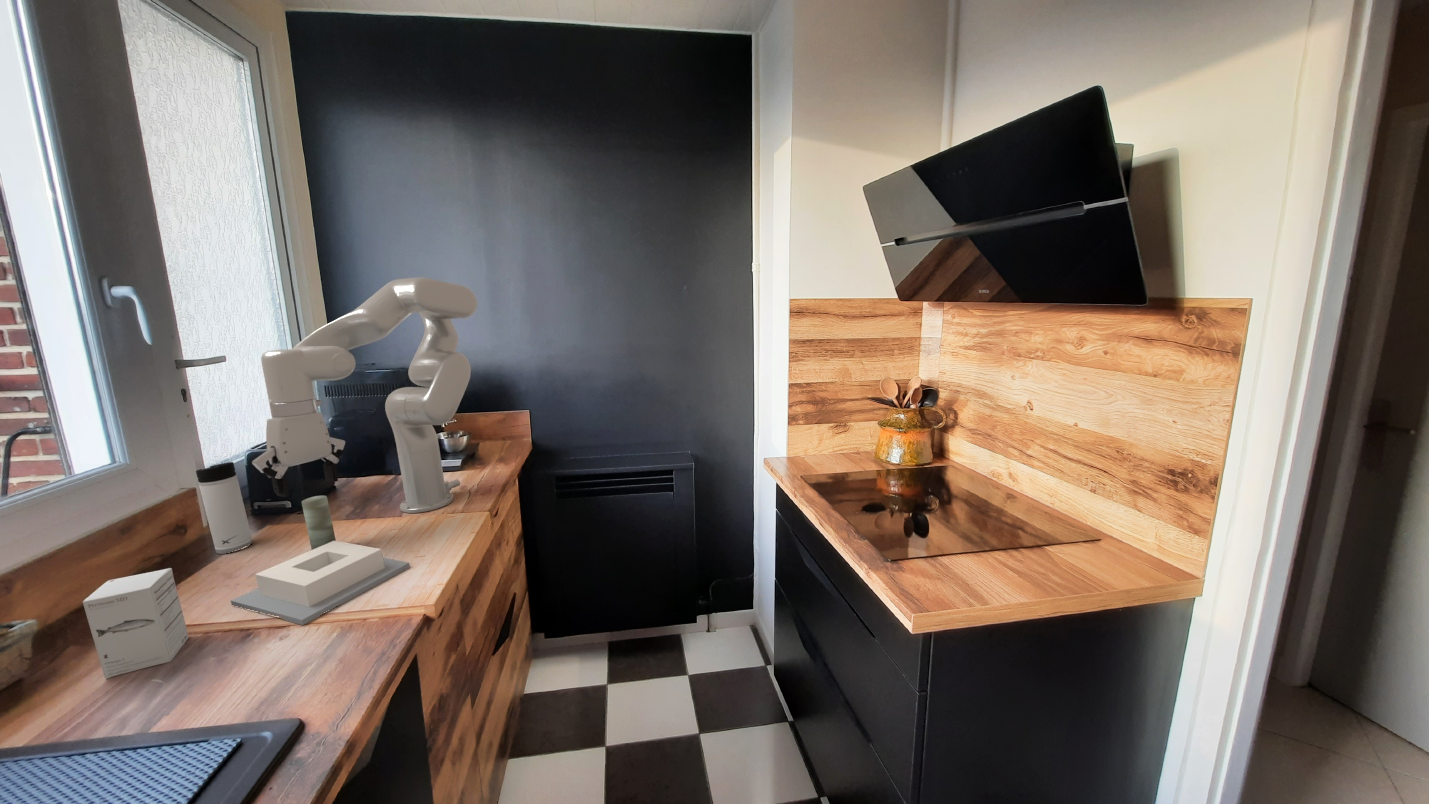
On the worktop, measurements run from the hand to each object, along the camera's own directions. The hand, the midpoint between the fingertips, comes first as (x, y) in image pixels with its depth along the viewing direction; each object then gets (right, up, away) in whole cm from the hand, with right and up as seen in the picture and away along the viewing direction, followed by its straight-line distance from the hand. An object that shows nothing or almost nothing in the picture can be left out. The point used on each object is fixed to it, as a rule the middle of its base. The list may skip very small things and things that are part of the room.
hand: (308, 488), depth 112 cm
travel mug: (-22, -15, +7) cm, 28 cm away
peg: (+1, -14, +3) cm, 15 cm away
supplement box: (-1, -21, -31) cm, 37 cm away
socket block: (+12, -17, -11) cm, 24 cm away
